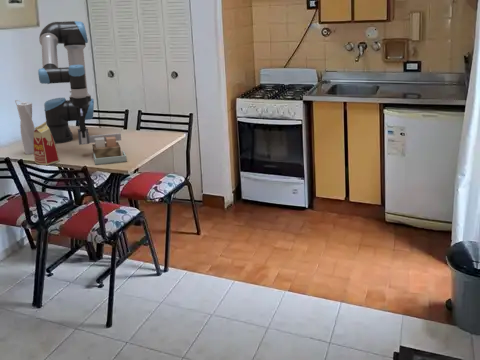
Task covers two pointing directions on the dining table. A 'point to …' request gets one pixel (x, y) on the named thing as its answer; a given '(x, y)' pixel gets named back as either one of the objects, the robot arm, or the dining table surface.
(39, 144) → the milk carton
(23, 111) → the skyscraper
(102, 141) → the tile white
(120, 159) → the tray
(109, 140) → the tile terracotta
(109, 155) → the board
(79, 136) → the scraper
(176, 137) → the dining table surface
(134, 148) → the dining table surface
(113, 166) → the dining table surface
